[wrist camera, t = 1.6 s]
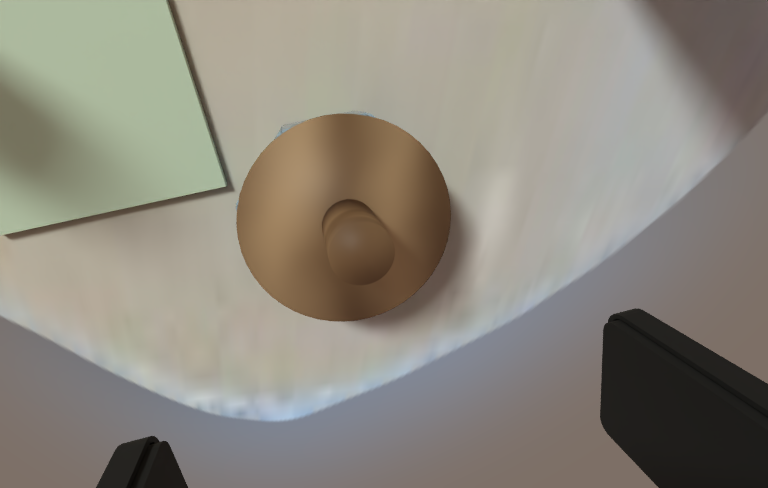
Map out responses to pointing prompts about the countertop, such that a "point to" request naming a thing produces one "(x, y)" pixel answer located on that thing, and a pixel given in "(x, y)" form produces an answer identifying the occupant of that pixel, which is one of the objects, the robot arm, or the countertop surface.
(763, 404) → the robot arm
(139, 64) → the mat
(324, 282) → the lid
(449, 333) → the countertop surface
